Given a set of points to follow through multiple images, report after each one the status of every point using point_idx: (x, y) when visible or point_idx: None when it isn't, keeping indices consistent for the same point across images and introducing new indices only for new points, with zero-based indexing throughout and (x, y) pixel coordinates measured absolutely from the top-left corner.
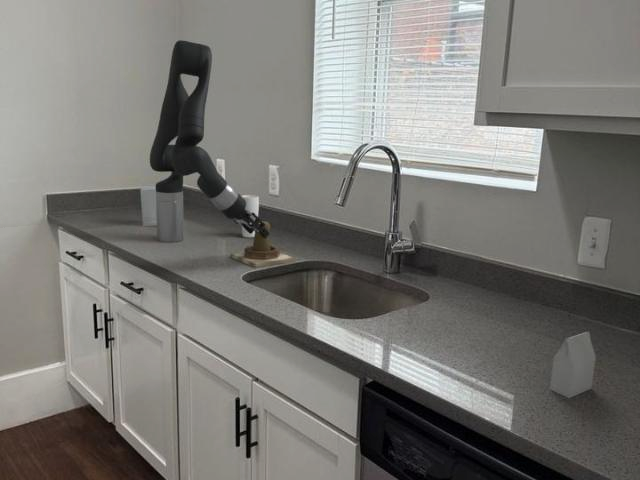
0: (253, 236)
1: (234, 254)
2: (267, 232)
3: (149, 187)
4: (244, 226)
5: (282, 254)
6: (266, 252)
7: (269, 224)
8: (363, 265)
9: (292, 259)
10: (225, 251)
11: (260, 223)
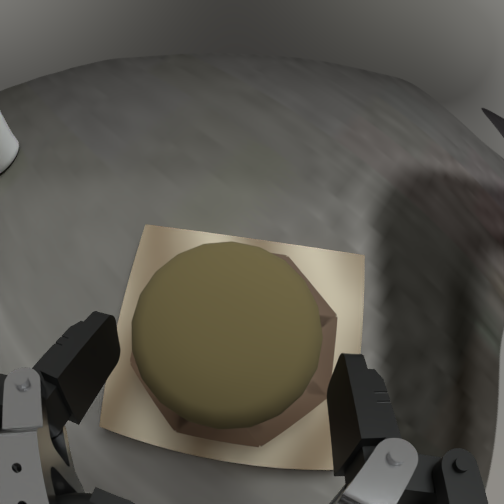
0: (15, 154)
1: (125, 432)
2: (383, 389)
3: None
4: (76, 417)
5: (282, 252)
6: (326, 387)
7: (291, 268)
8: (466, 148)
9: (362, 266)
10: (32, 361)
11: (404, 483)
